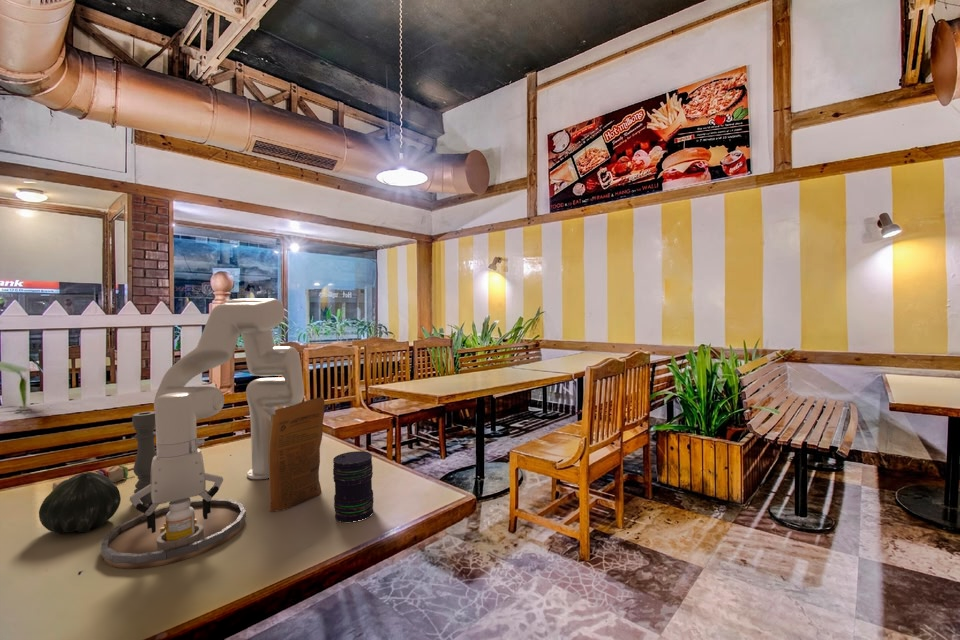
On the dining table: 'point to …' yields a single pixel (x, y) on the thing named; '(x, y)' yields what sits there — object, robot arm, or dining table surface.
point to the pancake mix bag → (295, 453)
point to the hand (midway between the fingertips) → (180, 523)
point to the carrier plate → (149, 539)
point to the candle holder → (144, 450)
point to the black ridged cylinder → (353, 486)
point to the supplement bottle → (180, 520)
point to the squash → (80, 503)
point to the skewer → (109, 473)
